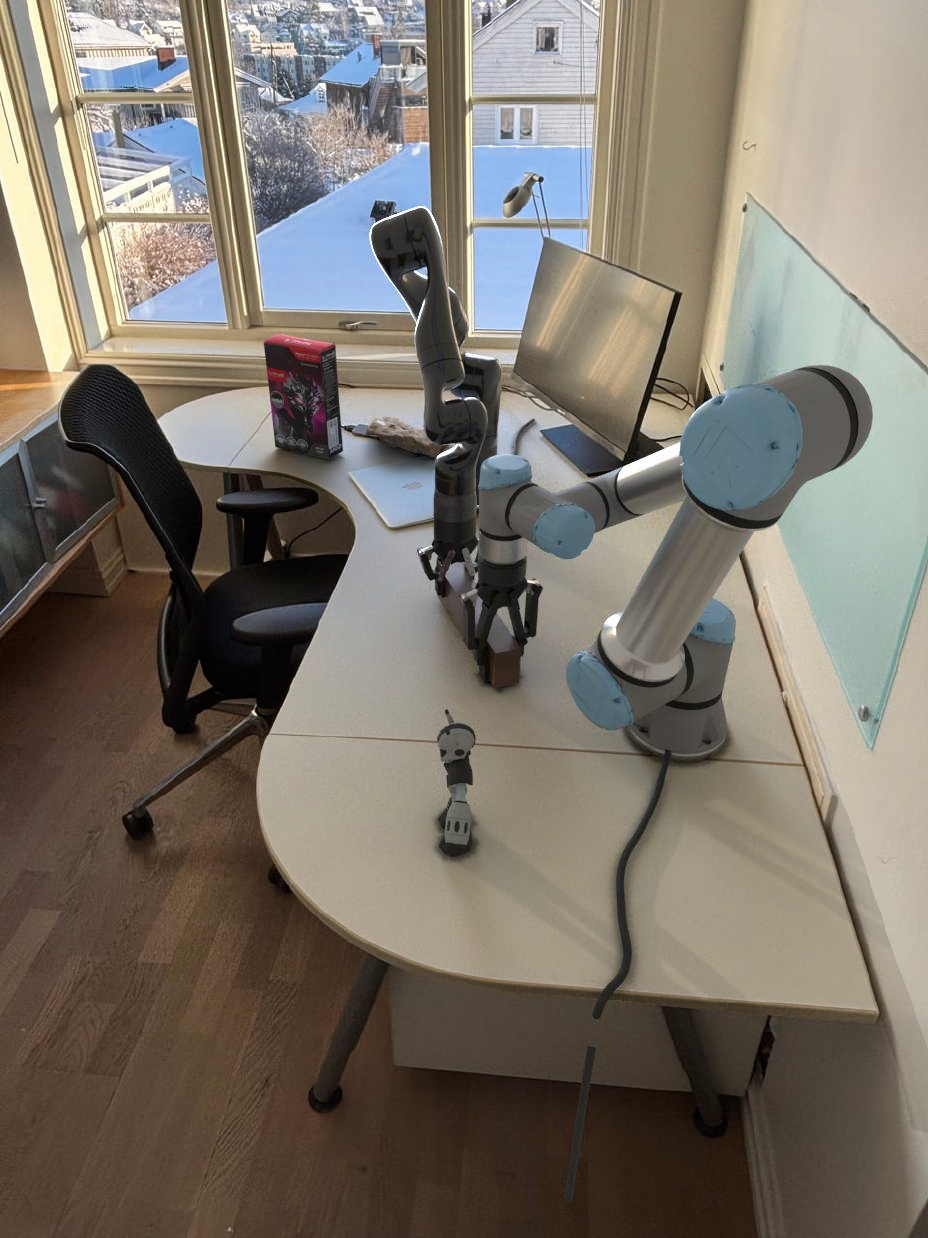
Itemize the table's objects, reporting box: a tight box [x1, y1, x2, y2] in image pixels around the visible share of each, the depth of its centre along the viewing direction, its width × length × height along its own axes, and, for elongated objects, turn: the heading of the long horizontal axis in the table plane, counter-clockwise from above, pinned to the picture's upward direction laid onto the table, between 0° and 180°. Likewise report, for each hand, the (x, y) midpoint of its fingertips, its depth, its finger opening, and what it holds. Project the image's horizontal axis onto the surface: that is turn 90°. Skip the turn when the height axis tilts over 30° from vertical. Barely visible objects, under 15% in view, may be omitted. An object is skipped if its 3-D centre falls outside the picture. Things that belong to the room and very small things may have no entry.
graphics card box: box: [263, 333, 344, 460], centre depth 223 cm, size 17×7×27 cm, turn 62°
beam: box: [436, 562, 522, 689], centre depth 161 cm, size 30×4×7 cm, turn 20°
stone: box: [365, 416, 445, 458], centre depth 231 cm, size 21×15×6 cm
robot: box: [436, 708, 477, 857], centre depth 119 cm, size 20×5×20 cm, turn 3°
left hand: (454, 592), depth 170 cm, fingers closed on beam, 4 cm apart
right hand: (498, 674), depth 154 cm, fingers closed on beam, 5 cm apart
